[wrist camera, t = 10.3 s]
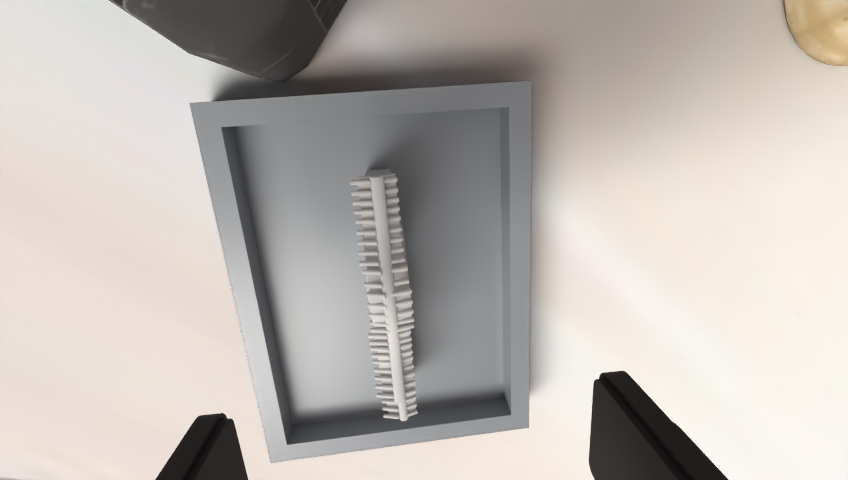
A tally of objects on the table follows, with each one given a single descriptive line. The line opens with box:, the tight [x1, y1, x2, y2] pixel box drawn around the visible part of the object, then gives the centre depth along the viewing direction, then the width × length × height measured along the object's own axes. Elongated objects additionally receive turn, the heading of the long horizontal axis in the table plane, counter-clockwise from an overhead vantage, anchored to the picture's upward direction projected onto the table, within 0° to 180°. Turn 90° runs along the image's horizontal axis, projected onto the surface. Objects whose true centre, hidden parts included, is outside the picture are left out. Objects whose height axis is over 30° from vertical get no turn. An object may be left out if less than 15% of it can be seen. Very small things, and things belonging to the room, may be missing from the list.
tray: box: [190, 81, 532, 463], centre depth 20 cm, size 14×18×2 cm
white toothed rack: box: [350, 169, 418, 421], centre depth 18 cm, size 12×2×6 cm, turn 4°
